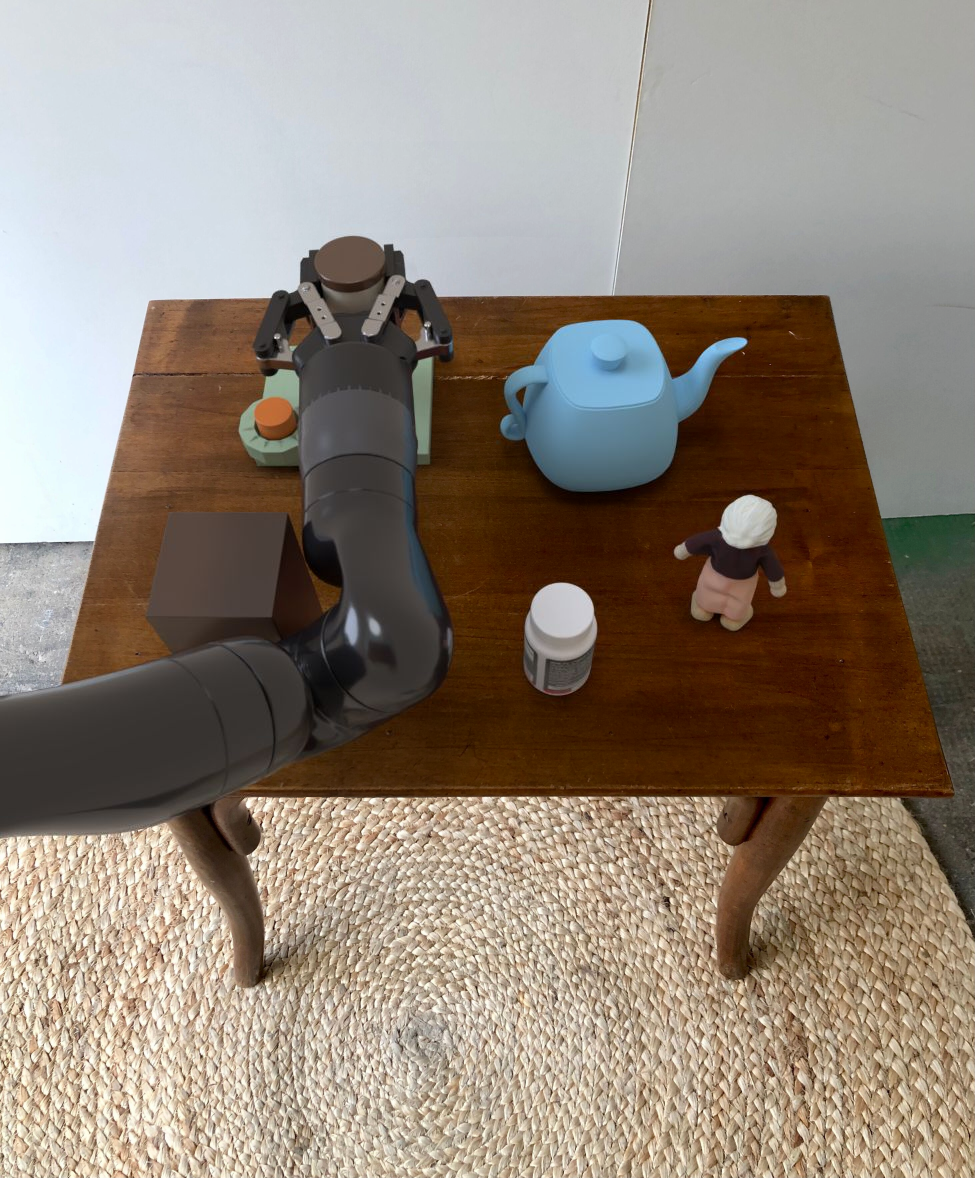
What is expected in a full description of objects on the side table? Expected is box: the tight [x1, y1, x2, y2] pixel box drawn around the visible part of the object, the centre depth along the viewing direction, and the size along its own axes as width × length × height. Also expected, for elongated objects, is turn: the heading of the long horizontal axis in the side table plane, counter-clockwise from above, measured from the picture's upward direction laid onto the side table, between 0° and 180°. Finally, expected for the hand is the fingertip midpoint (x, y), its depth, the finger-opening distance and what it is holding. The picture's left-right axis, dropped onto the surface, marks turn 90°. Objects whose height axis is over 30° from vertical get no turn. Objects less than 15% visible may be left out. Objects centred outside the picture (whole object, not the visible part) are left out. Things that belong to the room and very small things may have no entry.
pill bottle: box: [523, 582, 598, 696], centre depth 60 cm, size 5×5×8 cm
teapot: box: [499, 319, 748, 493], centre depth 69 cm, size 13×11×18 cm
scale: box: [238, 345, 435, 467], centre depth 75 cm, size 15×13×3 cm
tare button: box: [254, 397, 296, 440], centre depth 71 cm, size 3×3×2 cm
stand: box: [144, 511, 325, 655], centre depth 57 cm, size 7×7×15 cm
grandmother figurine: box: [673, 494, 787, 632], centre depth 61 cm, size 8×4×13 cm, turn 77°
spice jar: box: [314, 235, 386, 314], centre depth 68 cm, size 5×5×9 cm
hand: (352, 257), depth 67 cm, fingers closed on spice jar, 5 cm apart
